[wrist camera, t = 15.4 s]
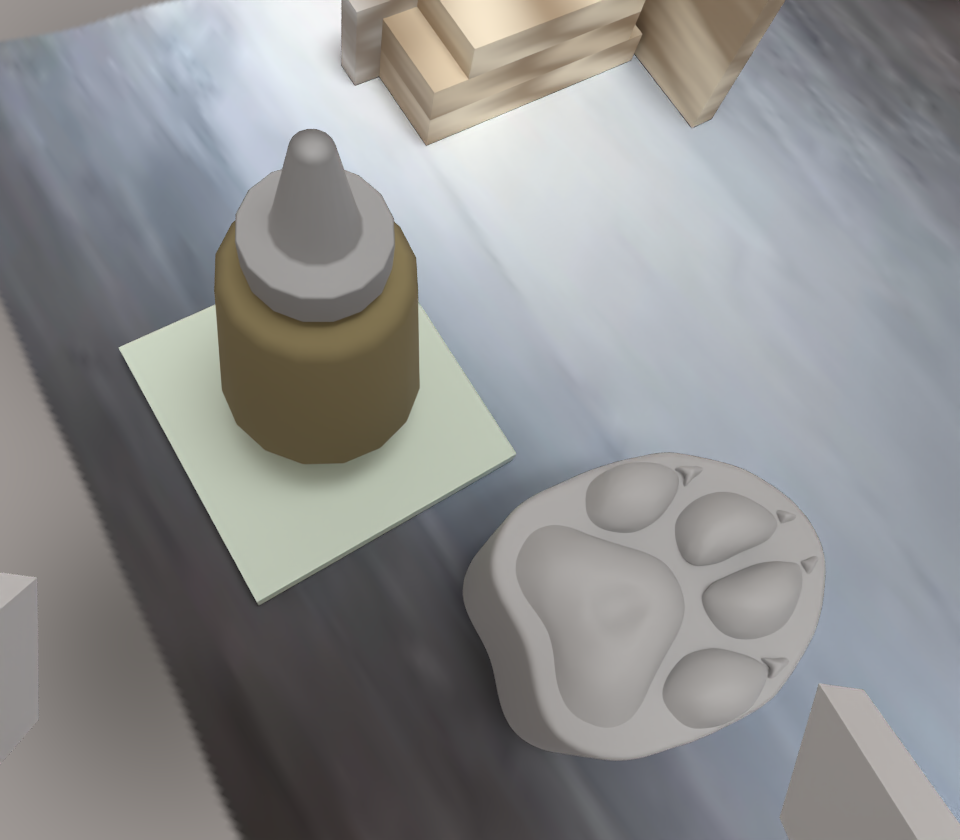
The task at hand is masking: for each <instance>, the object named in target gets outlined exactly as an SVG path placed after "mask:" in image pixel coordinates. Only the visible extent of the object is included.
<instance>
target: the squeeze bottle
mask: <svg viewBox="0 0 960 840" xmlns="http://www.w3.org/2000/svg"><path fill="white" fill-rule="evenodd" d="M214 292H215V305H216V319H217V332H218V346H219V359H220V373H221V386H222V392H223V394H224V396H225V399H226V401H227V403H228V406H229V408H230V410H231V412H232V415H233V417H234V419H235V422H236V424H237V425H238V426H239V427H240V428H241V429H242V430H244V431H245V432H246V433H247V434H248V435H249V436H250V437H251V438H252V439H253V440H254V441H256V442H257V443H258V444H259V445H260V446H261V447H262V448H263V449H264V450H265V451H268V452H271V453H274V454H276V455H279V456H282V457H285V458H287V459H290V460H293V461H296V462H298V463H301V464H335V463H346V462H348V461H350V460H353V459H355V458H358V457H360V456H362V455H365V454H367V453H369V452H372V451H374V450H377V449H379V448H381V447H382V446H383V445H384V444H385V443H386V442H387V441H388V440H389V439H390V438H391V437H392V436H393V435H394V434H395V433H396V432H397V431H398V430H399V429H400V428H401V427H402V426H403V425H404V424H405V423H406V422H407V420H408V417H409V414H410V412H411V409H412V407H413V404H414V402H415V399H416V396H417V394H418V391H419V389H420V375H419V320H418V283H417V264H416V257H415V255H414V253H413V251H412V249H411V247H410V245H409V243H408V241H407V239H406V237H405V236H404V234H403V232H402V230H401V228H400V226H398V225H397V224H396V223H395V222H394V218H393V216H392V214H391V212H390V210H389V208H388V206H387V205H386V203H385V201H384V199H383V197H382V195H381V194H380V193H379V192H378V191H377V190H376V189H374V188H373V187H372V186H371V185H370V184H369V183H367V182H366V181H365V180H364V179H363V178H361V177H360V176H359V175H356V174H354V173H351V172H349V171H346V170H344V168H343V165H342V162H341V159H340V157H339V154H338V151H337V148H336V145H335V143H334V141H333V139H332V138H331V137H330V136H329V135H328V134H326V133H325V132H323V131H320V130H317V129H306V130H302V131H299V132H298V133H297V134H295V135H294V136H293V137H292V139H291V141H290V142H289V145H288V149H287V153H286V157H285V161H284V164H283V168H282V169H281V170H278V171H274V172H271V173H270V174H269V175H267V176H266V177H265V178H264V179H262V180H261V181H260V182H258V183H257V184H256V185H255V186H253V187H252V188H251V189H249V190H248V192H247V194H246V196H245V198H244V200H243V202H242V204H241V205H240V207H239V209H238V211H237V213H236V220H235V221H234V222H233V223H232V224H231V226H230V228H229V230H228V232H227V234H226V236H225V238H224V239H223V241H222V243H221V245H220V247H219V249H218V251H217V253H216V258H215V286H214Z"/></svg>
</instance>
